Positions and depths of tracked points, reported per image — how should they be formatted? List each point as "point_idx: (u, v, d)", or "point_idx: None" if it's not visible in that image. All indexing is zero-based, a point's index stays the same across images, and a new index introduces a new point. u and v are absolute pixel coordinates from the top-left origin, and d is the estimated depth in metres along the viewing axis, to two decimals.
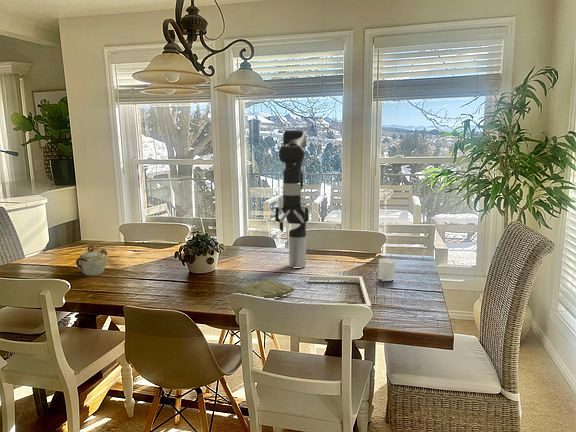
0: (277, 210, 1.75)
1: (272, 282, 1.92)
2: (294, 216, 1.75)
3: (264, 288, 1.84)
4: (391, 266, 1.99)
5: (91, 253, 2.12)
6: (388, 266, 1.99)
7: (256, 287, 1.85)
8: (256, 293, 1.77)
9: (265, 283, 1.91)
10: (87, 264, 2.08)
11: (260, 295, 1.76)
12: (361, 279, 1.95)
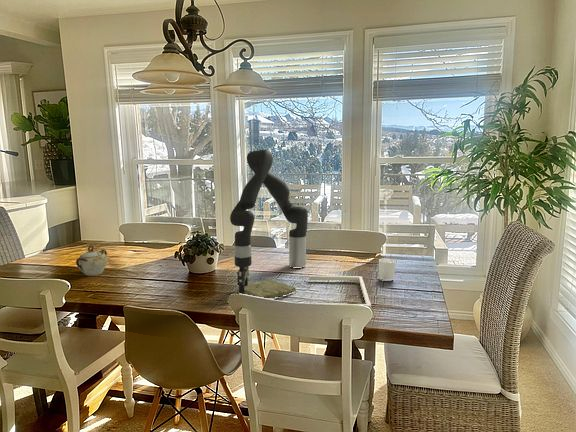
0: (243, 274, 1.78)
1: (274, 282, 1.93)
2: (246, 274, 1.86)
3: (266, 287, 1.84)
4: (391, 266, 1.99)
5: (91, 253, 2.12)
6: (388, 266, 1.99)
7: (258, 286, 1.86)
8: (258, 292, 1.78)
9: (267, 282, 1.91)
10: (87, 264, 2.08)
11: (262, 294, 1.76)
12: (361, 279, 1.95)
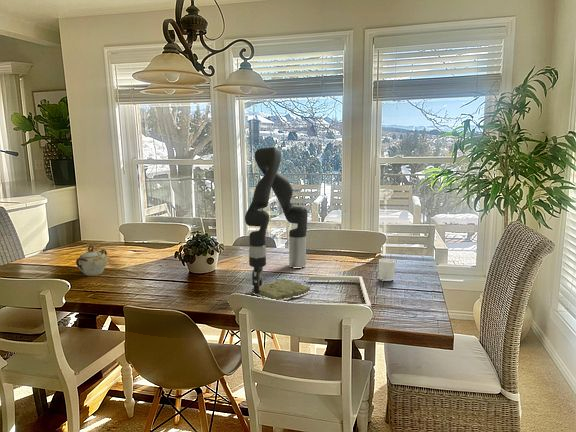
0: (258, 274, 1.78)
1: (288, 281, 1.92)
2: None
3: (280, 287, 1.84)
4: (391, 266, 1.99)
5: (91, 253, 2.12)
6: (388, 266, 1.99)
7: (272, 286, 1.85)
8: (273, 292, 1.77)
9: (281, 282, 1.91)
10: (87, 264, 2.08)
11: (277, 294, 1.76)
12: (361, 279, 1.95)
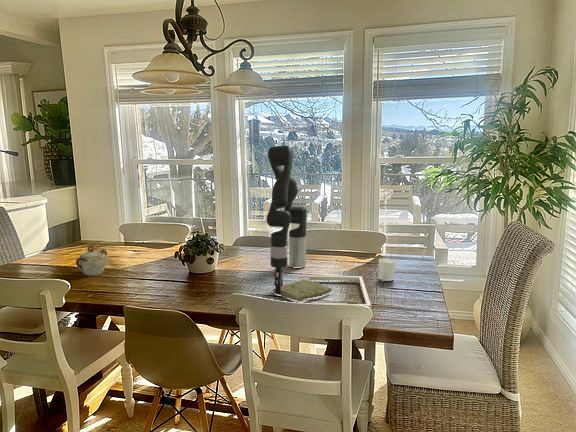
0: (280, 275, 1.77)
1: (309, 282, 1.91)
2: None
3: (302, 288, 1.83)
4: (391, 266, 1.99)
5: (91, 253, 2.12)
6: (388, 266, 1.99)
7: (293, 287, 1.84)
8: (294, 293, 1.77)
9: (302, 283, 1.90)
10: (87, 264, 2.08)
11: (299, 295, 1.75)
12: (361, 279, 1.95)
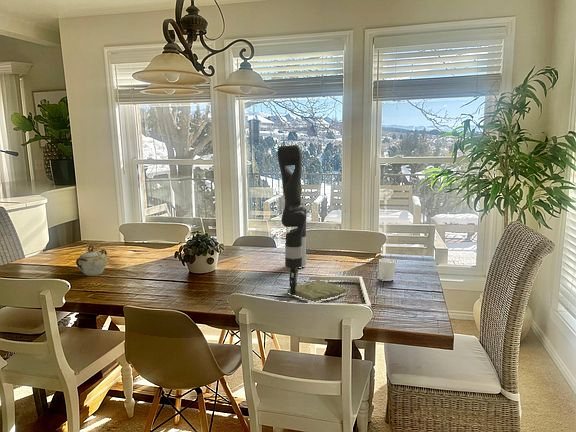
0: (295, 275, 1.76)
1: (323, 282, 1.91)
2: (296, 275, 1.84)
3: (316, 288, 1.82)
4: (391, 266, 1.99)
5: (91, 253, 2.12)
6: (388, 266, 1.99)
7: (308, 287, 1.84)
8: (309, 293, 1.76)
9: (316, 283, 1.89)
10: (87, 264, 2.08)
11: (314, 296, 1.74)
12: (361, 279, 1.95)
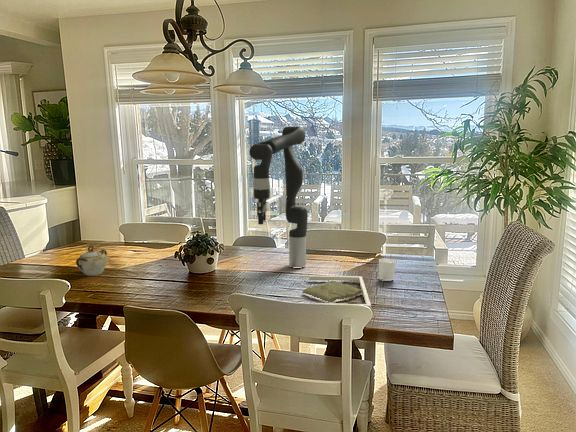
0: (262, 204, 1.86)
1: (338, 283, 1.90)
2: None
3: (332, 289, 1.82)
4: (391, 266, 1.99)
5: (91, 253, 2.12)
6: (388, 266, 1.99)
7: (323, 288, 1.83)
8: (325, 294, 1.76)
9: (331, 284, 1.89)
10: (87, 264, 2.08)
11: (330, 296, 1.74)
12: (361, 279, 1.95)
